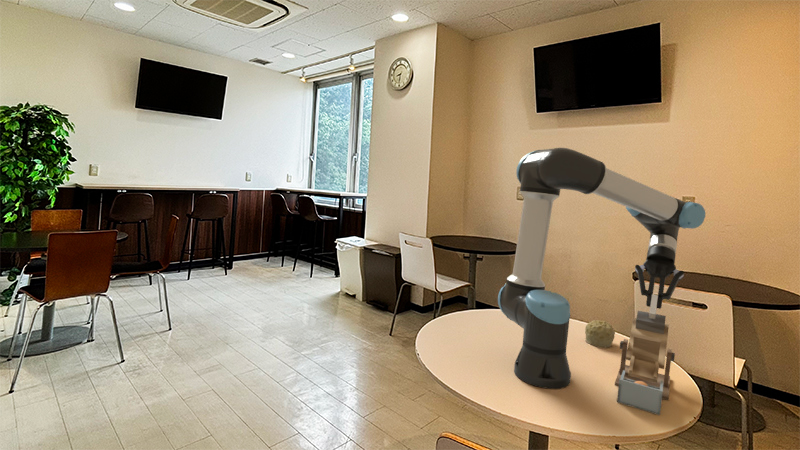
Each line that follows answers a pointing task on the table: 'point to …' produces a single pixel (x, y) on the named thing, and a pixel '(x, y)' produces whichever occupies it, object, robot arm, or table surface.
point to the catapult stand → (662, 377)
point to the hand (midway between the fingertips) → (652, 316)
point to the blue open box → (640, 395)
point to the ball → (641, 383)
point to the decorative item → (599, 333)
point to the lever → (647, 346)
